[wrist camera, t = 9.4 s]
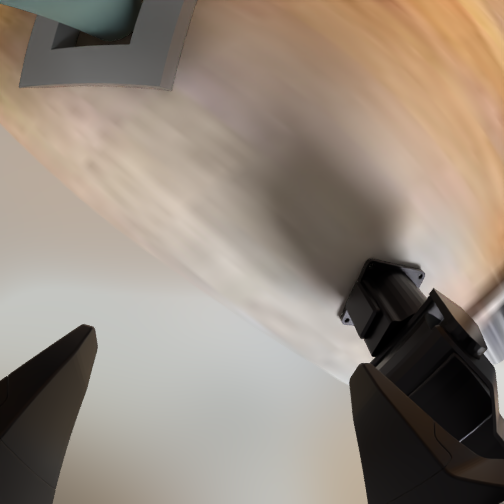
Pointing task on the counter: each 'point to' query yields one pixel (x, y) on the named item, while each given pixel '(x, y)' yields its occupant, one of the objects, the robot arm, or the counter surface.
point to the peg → (87, 15)
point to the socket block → (110, 52)
